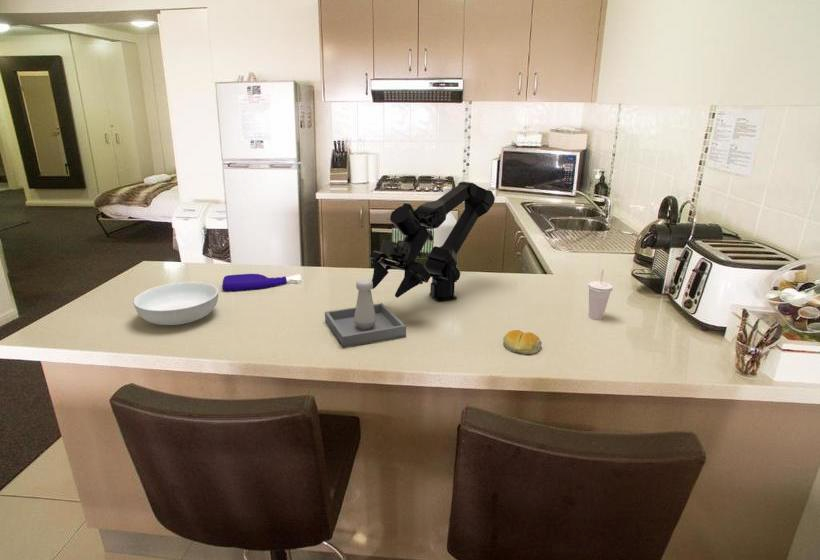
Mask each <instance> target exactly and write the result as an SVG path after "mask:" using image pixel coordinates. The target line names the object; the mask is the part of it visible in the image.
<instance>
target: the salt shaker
mask: <svg viewBox="0 0 820 560" xmlns="http://www.w3.org/2000/svg"><path fill="white" fill-rule="evenodd" d="M355 288H356V290H358V293H357V298H356V306H355V307H356V310H355V315H354V322H355V324H356V326H357V328H359V329H361V330H369V329H371V328H373V326H374V324H375V322H376V315H375V310H374V301H373V294H372V291H371V290H373V282H372V279H370V278H359V279H358V280H357V281H356V283H355Z"/></svg>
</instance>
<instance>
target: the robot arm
mask: <svg viewBox="0 0 820 560" xmlns="http://www.w3.org/2000/svg"><path fill="white" fill-rule="evenodd" d="M495 200H496V197H495V195H494V193H493V191H492V190H490V189H485V188H483V187H480V186H479V185H477V184H476V183H474V182H470V181H460V182H459V183H457V186H455V187H453V188H451V191H449V192H448V193H446V194H445V195H444V196H443V195H442V196H440V198H438V199H437V200H434V201H433V200H432V201H428V202H425V203H422V204H420V205H418V207H416V209H414V208H413V206H412V205H411V203H405V202H404V203H403V204H402V206H399V207H397V208H396V209H394V210H392V212H391V213H390V217H389V220H390V222H391V223H392V224H393V226H395V228H396V229H397V230H398V231H399V232H400V233H401V235H403V236H404V238H403V239H402V240H398V241H396V242H395V241H392V240H388V239H382V243H381V246H380V250H379V251H378V250H373V251H372V252H371V253H370V255H369V257H368V258H369V259H370V260H371V263H372V265H373V274H372V278H371V281H372V282H373V289H375V288H376V287H377V286H379V285H380V283H381V282H382V280H384V278H386V277H387V275H388V274H389V270H390V269H392V268H395V269H397V270H401V271H404V274H403V275H404V276H403V279H402V281H401V282H400V284H399V286H398V288H397V289H396V291H395V294H394V296H395V298H397V299H398V298H399V297H401V296H403V295H404V294H406V293H407V292H409V291H410V290H411V289H413V288H416V287H417V286H419V285H423V284H424V283H426V284H427V283H428V282H430V281H429V280H430V279H431V283H430V291H429V293H428V294H429V296H430V297H431V298H433V299H434V300H435V301H437V302H445V301H451V300H456V299H457V298H458V297H457V296H456V295H455V283H457V282H458V280H460V277H461V272H460V270H459V269H458V268H457V267H456V266H457V263H458V258H457V256H458V255H457V254H458V252H459V251H460V249H461V248H462V246H463V244H464V242H465V241H466V239H467V238H468V236H469V234H470V233H471V230H472V229H473V227H474V225H475V224H476V222H477V220H479V218H480V217H482V216H483V215H486V214H487V213H488V212H489V211H490V209H492V206H493V205H494V203H495ZM463 202H464V210H463V211H462V213H461V215H460V216H459V218H458V220H456V221H457V223H456V224H455V226H454V228H453V229H452V231H451V233H450V234H449V236H448V238H447V239H446V241H445V242H444V244H443V245H442V246H441V247H436V246H434V245H433V247H432V249H431V251H430V253H429V254H428V255H427V256H426V257H427V259H426V261H425V265H424V263H421V262H417V261H416V259H417V258H418V259H420V258H421V257H422V253H421V251H422V250H423V247H424V246H425V244H426V243H427V241H430V242H434V235H433V231H432V230H429V229H428V228H432V229H434V228H438V227H439V226H440V225H441V224H442V223H443V222H444V221H445V220H446V215H447V214H448V213H449V212H450V211H451V212H452V211H453V210H454V209H456V208H457V207H458V206H459V205H461V204H462V203H463ZM427 227H428V228H427ZM386 253H388V254H386ZM373 289H372V290H373Z"/></svg>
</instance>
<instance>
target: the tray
mask: <svg viewBox="0 0 820 560" xmlns="http://www.w3.org/2000/svg"><path fill="white" fill-rule="evenodd" d="M373 305H374V310H375V315H376V322H375V324H374V326H373V328H371V329H369V330H361V329H359V328H357V326H356V324H355V322H354V315H355V310H356V306H354V307H349V308H342V309H341V308H340V309H335V310H328V311H324V322H325V324H326V325H327V327H328V328H329V330H330V332H331V333H332V334H333V336H334V337H335V338H336V340H337V341H338V343H339V345H341V348H342V349H346V348H351V347H352V348H353V347H357V346H362V345H366V344H367V345H368V344H373V343H378V342H379V343H380V342H383V341H384V342H385V341H390V340H396V339H402V338H405V337H406V336H407V325H406V324H405V323H403V321H401V320H400V318H398V317H397V316H396V315H395V314H394V312H392V311H391V310H390V309H389V308H388V307H387V305H385V304H384V303H383V302H381V303H373Z"/></svg>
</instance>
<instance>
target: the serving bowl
mask: <svg viewBox="0 0 820 560" xmlns="http://www.w3.org/2000/svg"><path fill="white" fill-rule="evenodd" d="M218 300H219V289H218V287H216V285H213V284H211V283H207V282H200V281H182V282H181V281H180V282H179V281H178V282H172V283H165V284H160V285H157V286H154V287H151V288H149V289H146V290H144V291H142V292H140V293H138V294H137V296H135V297H134V298H133V303H132V304H133V306H134V308H135V310H136V313H137V314H138V315H139V316H140V318H142V319H143V320H145V321H147V322H148V323H151V324H154V325H159V326H177V325H179V326H180V325H185V324H189V323H192V322H196V321H198V320H201V319H203V318H204V317H206V316H208V315H209V314H211V312H213V310H214V309H215V307H216V305H218V304H217V303H218Z"/></svg>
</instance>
